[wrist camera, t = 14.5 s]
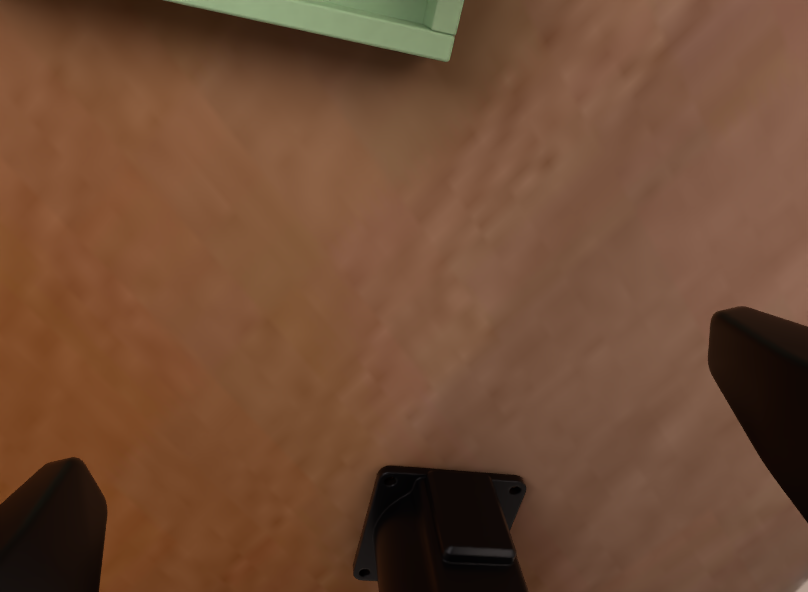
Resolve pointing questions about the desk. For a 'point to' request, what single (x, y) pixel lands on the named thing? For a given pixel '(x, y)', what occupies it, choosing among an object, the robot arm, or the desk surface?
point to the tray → (358, 20)
